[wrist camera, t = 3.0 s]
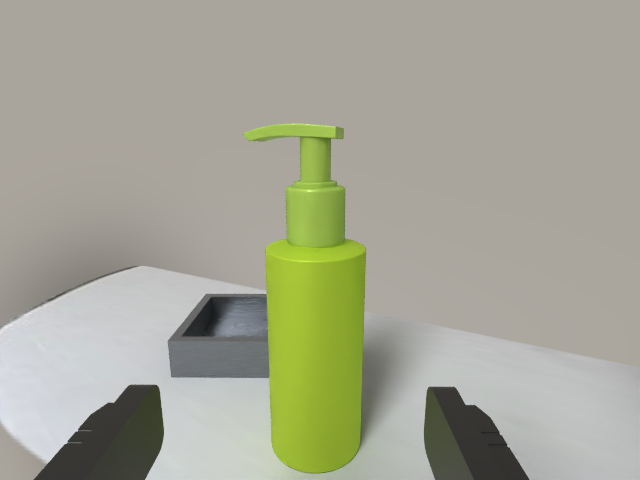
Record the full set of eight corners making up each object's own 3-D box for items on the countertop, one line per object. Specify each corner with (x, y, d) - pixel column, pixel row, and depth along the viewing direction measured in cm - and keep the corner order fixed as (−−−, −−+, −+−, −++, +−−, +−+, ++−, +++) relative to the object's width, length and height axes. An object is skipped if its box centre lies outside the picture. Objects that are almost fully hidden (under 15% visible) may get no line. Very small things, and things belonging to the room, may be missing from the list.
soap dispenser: (277, 399, 29) (269, 128, 25) (366, 416, 27) (376, 126, 23) (241, 457, 24) (222, 121, 19) (350, 483, 22) (358, 118, 17)
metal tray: (312, 322, 42) (312, 294, 42) (308, 377, 32) (308, 341, 31) (208, 321, 42) (206, 293, 42) (171, 376, 32) (167, 341, 31)
